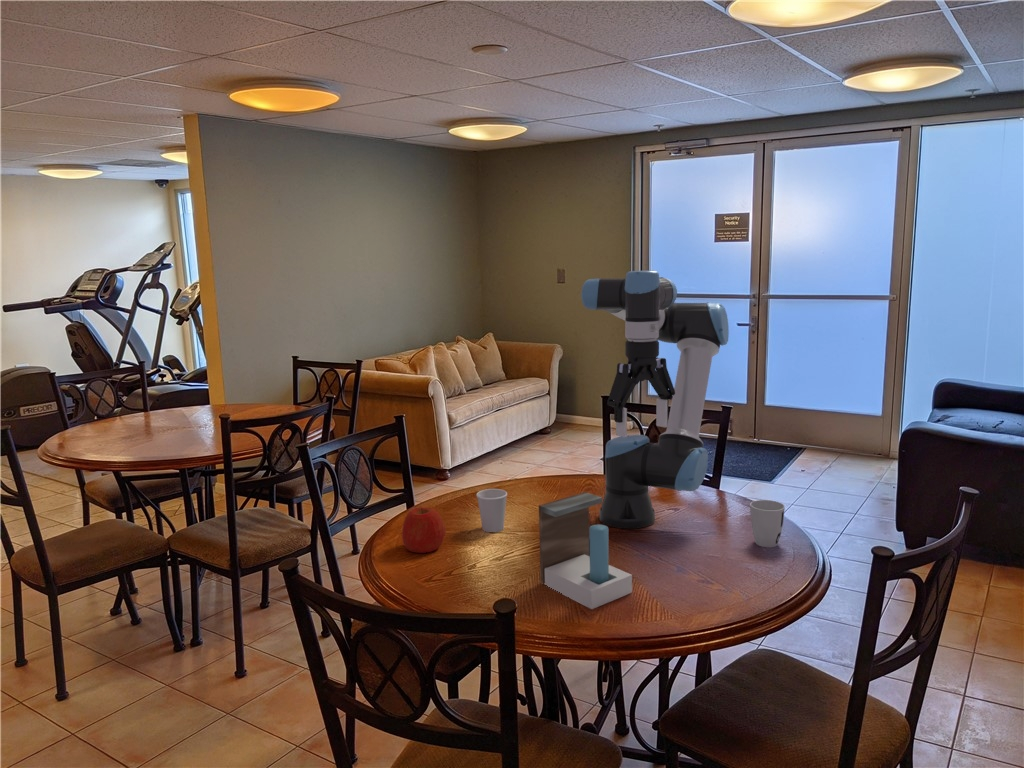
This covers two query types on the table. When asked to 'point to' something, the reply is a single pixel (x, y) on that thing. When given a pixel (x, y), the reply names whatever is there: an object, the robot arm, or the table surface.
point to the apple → (423, 530)
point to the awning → (564, 529)
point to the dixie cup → (492, 509)
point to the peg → (599, 554)
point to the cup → (767, 522)
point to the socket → (587, 582)
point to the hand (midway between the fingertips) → (642, 431)
